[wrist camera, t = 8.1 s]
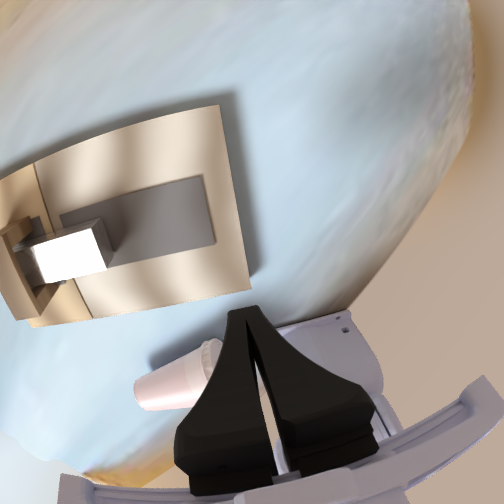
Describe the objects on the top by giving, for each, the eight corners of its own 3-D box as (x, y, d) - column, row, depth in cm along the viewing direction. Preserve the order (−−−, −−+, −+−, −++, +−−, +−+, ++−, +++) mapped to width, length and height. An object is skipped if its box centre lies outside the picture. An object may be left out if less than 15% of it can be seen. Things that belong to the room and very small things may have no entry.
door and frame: (217, 105, 18) (223, 98, 13) (248, 279, 24) (261, 321, 19) (-17, 190, 16) (-55, 211, 11) (37, 318, 22) (16, 355, 17)
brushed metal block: (101, 216, 18) (91, 228, 16) (114, 255, 19) (106, 269, 17) (15, 244, 17) (2, 256, 15) (29, 276, 18) (18, 290, 16)
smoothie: (170, 404, 28) (285, 367, 27) (149, 434, 22) (286, 399, 20) (143, 357, 28) (258, 312, 27) (114, 380, 22) (253, 332, 20)
